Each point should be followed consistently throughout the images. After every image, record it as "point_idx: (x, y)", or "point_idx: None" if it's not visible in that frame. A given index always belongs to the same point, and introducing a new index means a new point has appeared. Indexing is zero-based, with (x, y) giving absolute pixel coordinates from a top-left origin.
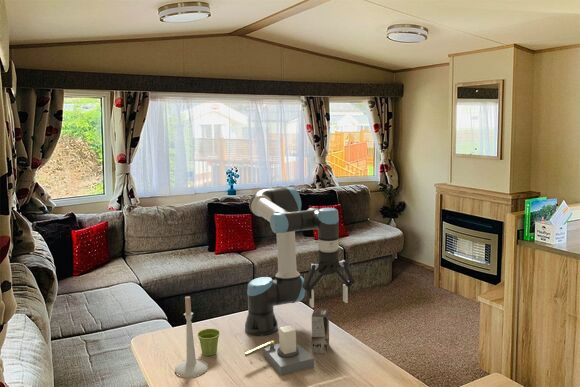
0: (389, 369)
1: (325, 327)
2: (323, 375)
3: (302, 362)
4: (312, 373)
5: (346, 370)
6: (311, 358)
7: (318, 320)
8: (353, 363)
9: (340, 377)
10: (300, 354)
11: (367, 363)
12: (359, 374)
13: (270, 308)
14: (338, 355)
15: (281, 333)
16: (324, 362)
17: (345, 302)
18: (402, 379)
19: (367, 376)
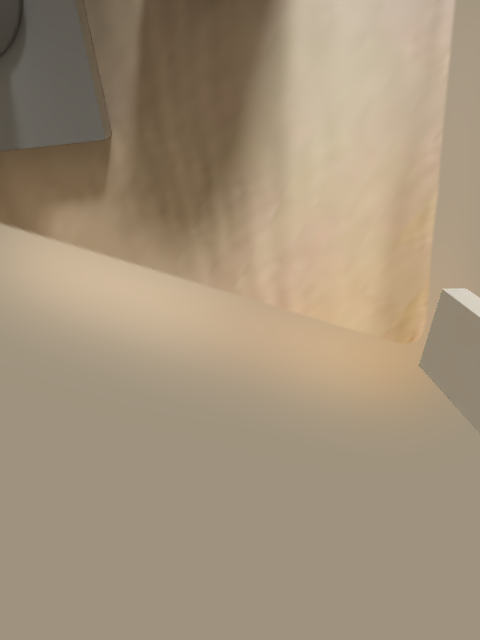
0: (405, 260)
1: None
2: (137, 215)
3: (33, 147)
4: (91, 181)
5: (250, 210)
6: (91, 136)
7: None
8: (308, 163)
9: (202, 254)
10: (32, 54)
11: (362, 186)
12: (283, 257)
13: None
14: (283, 48)
15: None
16: (182, 96)
17: (423, 359)
18: (396, 330)
19: (303, 279)
